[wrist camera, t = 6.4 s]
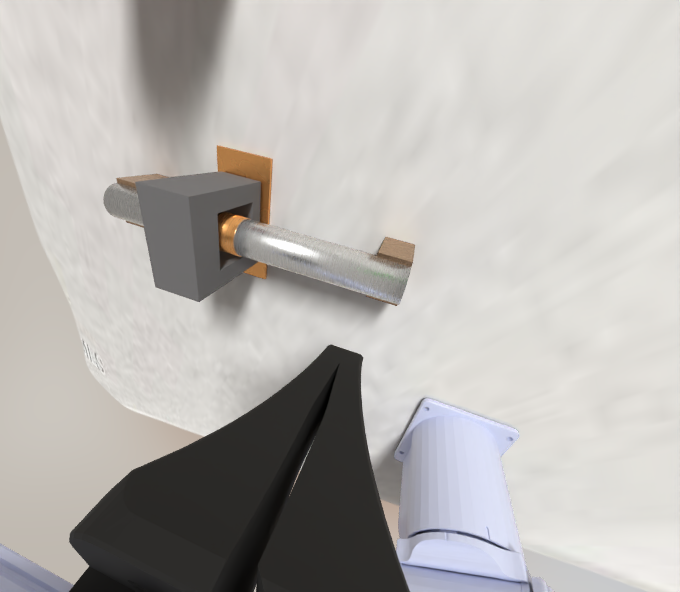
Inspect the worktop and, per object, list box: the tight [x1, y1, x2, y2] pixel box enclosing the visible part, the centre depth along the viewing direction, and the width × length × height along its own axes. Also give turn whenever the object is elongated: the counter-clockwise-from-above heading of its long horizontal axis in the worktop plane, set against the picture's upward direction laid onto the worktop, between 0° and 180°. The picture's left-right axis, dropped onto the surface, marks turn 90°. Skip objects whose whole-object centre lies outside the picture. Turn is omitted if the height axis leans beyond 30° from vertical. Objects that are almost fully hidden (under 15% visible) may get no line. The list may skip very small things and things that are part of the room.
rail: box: [104, 146, 415, 306], centre depth 18 cm, size 20×9×4 cm, turn 79°
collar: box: [135, 171, 261, 302], centre depth 17 cm, size 3×6×7 cm, turn 169°
